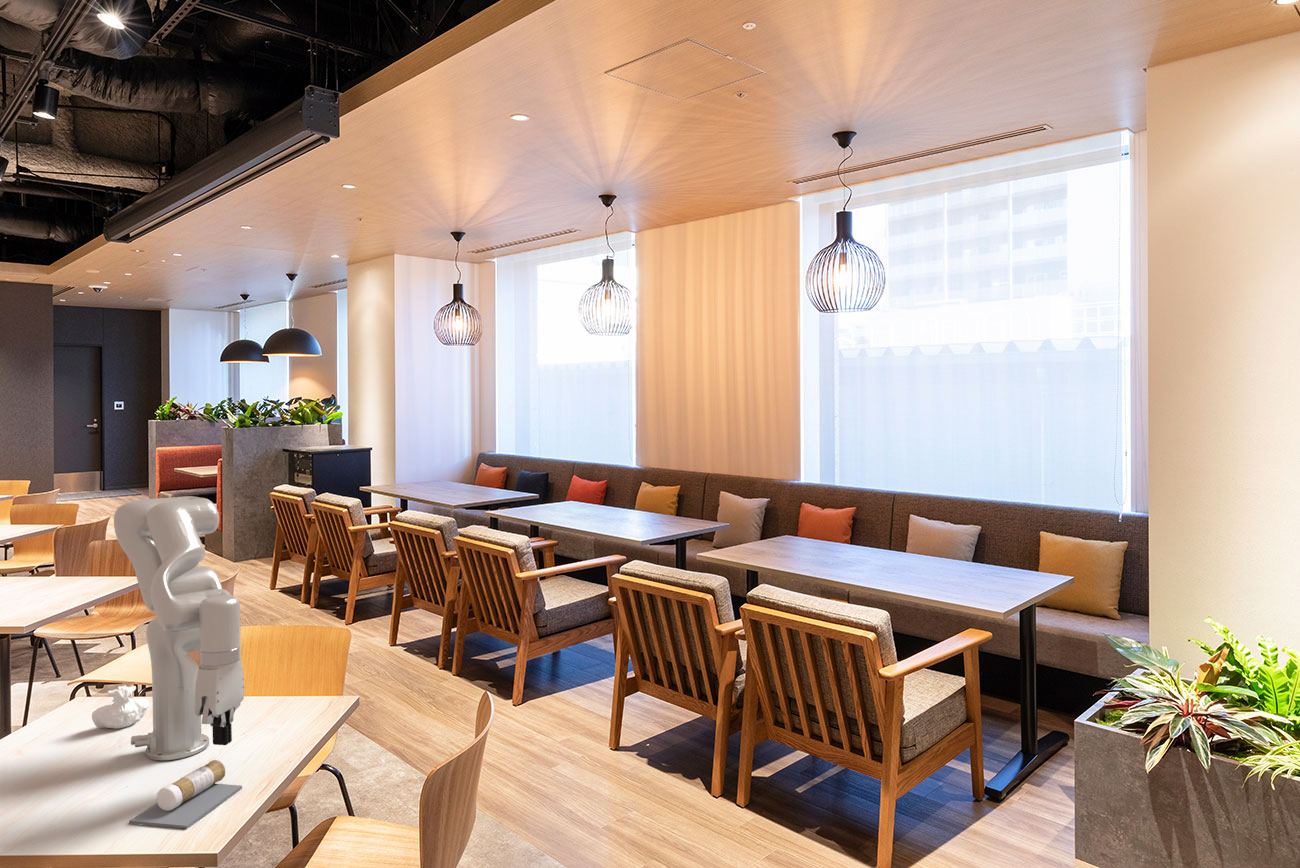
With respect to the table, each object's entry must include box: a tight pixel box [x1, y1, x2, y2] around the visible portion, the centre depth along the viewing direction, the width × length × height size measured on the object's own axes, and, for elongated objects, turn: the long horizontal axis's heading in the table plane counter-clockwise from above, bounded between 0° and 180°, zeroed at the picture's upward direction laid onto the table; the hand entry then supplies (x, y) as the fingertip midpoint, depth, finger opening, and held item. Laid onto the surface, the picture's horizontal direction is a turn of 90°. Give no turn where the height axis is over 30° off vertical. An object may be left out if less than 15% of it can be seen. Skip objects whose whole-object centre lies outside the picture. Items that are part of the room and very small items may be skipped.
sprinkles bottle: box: [156, 759, 226, 811], centre depth 163 cm, size 5×5×13 cm
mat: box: [128, 783, 243, 830], centre depth 160 cm, size 16×12×1 cm
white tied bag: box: [91, 684, 150, 730], centre depth 198 cm, size 12×8×11 cm
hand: (222, 743), depth 169 cm, fingers closed
